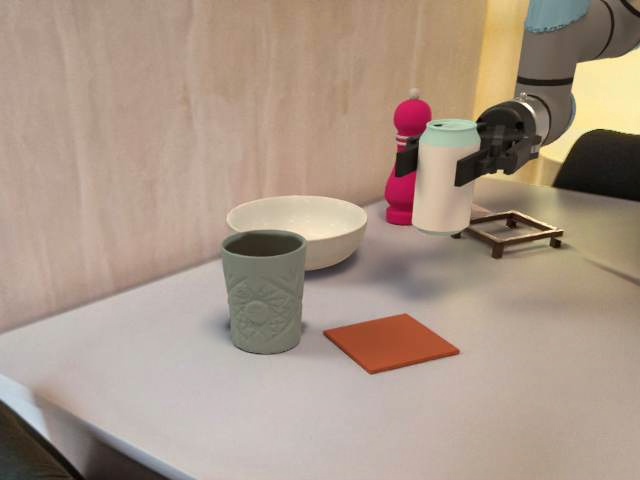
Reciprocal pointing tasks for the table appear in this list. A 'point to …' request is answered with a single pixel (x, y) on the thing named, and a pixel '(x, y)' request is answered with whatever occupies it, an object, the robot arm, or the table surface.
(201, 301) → the table surface
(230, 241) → the grey ceramic cup
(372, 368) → the mat
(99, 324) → the table surface
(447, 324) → the table surface
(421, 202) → the can
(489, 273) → the table surface
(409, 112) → the pepper mill
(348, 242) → the serving bowl
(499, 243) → the square trivet stand
